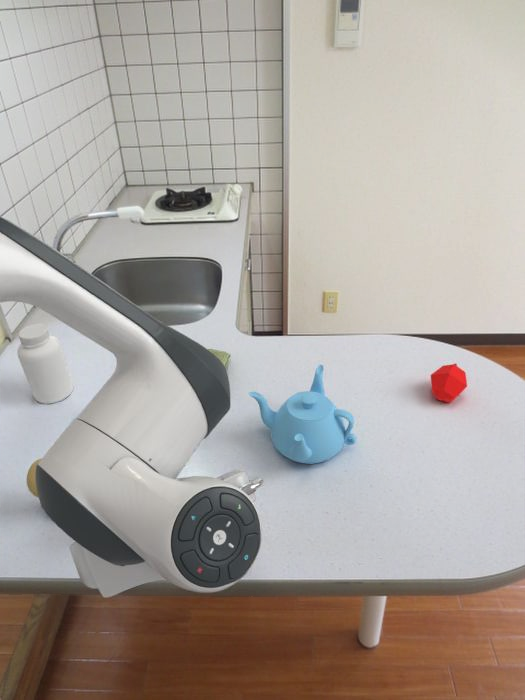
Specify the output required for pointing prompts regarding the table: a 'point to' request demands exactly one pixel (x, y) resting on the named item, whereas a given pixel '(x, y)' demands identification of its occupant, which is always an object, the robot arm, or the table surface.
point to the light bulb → (32, 478)
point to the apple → (448, 382)
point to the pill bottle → (44, 364)
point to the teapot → (308, 424)
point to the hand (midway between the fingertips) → (156, 518)
